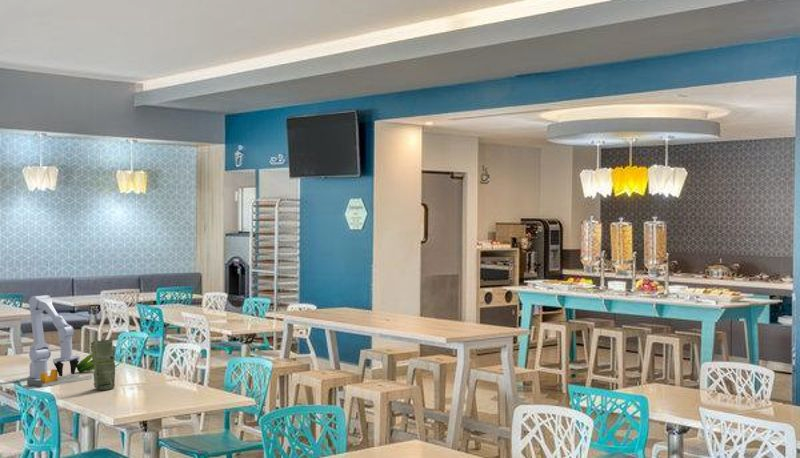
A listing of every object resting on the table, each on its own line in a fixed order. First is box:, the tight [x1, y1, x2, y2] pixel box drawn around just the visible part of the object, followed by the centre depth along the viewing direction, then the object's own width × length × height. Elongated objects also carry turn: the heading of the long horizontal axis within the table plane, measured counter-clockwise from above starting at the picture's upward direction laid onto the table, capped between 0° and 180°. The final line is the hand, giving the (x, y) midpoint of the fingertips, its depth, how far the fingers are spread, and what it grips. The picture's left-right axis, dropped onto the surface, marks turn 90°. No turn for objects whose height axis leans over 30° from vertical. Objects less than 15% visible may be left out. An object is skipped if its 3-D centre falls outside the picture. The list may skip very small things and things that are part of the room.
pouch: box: [90, 337, 116, 391], centre depth 460 cm, size 11×12×25 cm
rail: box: [26, 373, 93, 388], centre depth 482 cm, size 12×30×3 cm, turn 144°
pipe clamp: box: [40, 368, 59, 383], centre depth 476 cm, size 12×4×6 cm, turn 171°
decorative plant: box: [76, 343, 127, 374], centre depth 520 cm, size 18×30×15 cm, turn 109°
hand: (66, 375), depth 485 cm, fingers open, 7 cm apart
